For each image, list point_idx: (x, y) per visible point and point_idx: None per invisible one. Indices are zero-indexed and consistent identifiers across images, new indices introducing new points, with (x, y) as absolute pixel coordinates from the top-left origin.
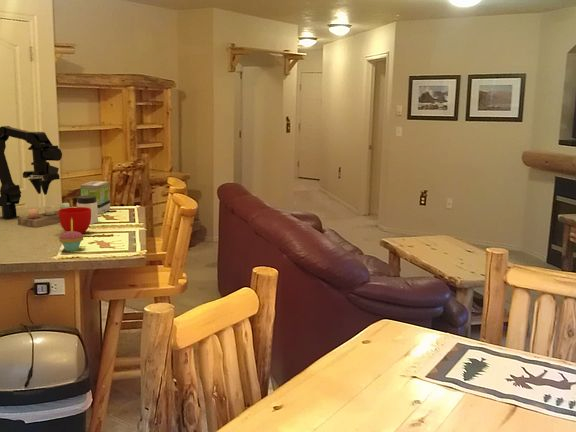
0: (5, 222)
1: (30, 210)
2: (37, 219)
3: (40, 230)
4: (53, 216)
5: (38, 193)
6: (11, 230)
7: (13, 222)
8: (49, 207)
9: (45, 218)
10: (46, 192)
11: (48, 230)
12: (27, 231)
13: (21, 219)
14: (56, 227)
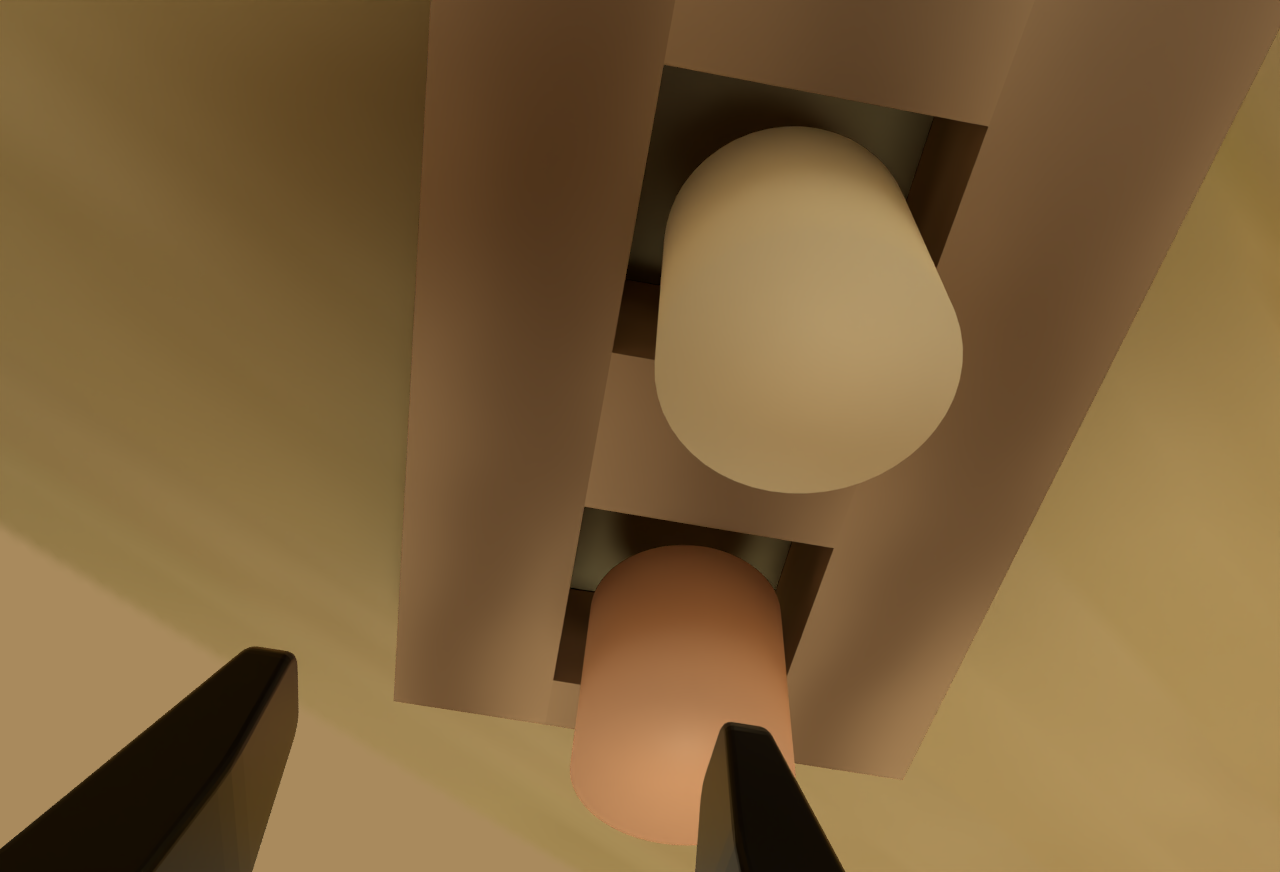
0: (55, 546)
1: (697, 835)
2: (860, 689)
3: (1088, 775)
4: (1008, 375)
5: (284, 747)
6: (672, 858)
7: (173, 506)
8: (891, 456)
9: (961, 589)
10: (802, 835)
11: (1219, 749)
12: (934, 848)
13: (516, 708)
14: (1251, 576)
